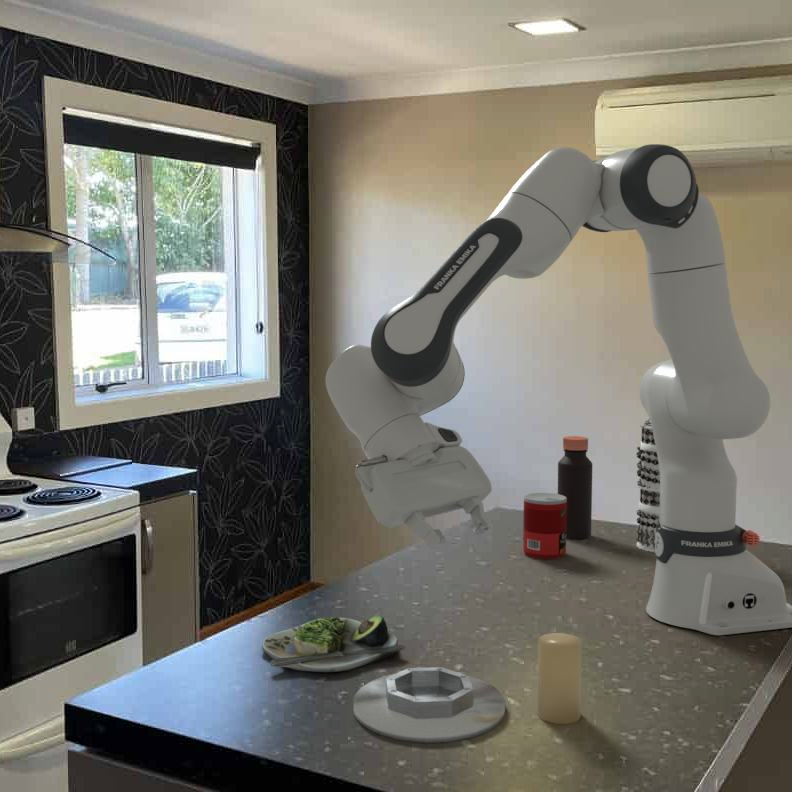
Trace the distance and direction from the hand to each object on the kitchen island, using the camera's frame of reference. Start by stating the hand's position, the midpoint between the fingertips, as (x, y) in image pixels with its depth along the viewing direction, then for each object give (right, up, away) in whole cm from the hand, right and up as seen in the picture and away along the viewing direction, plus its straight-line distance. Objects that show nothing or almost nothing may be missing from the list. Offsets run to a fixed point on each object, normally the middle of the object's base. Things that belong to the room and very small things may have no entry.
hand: (462, 538), depth 123 cm
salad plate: (-17, -18, +13) cm, 28 cm away
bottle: (+28, -11, +75) cm, 81 cm away
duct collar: (-4, -19, -6) cm, 21 cm away
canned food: (+20, -12, +62) cm, 66 cm away
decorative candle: (+42, -12, +66) cm, 79 cm away
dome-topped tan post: (+11, -20, -8) cm, 24 cm away
